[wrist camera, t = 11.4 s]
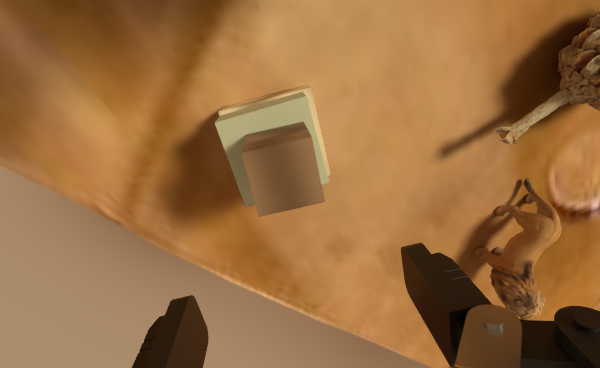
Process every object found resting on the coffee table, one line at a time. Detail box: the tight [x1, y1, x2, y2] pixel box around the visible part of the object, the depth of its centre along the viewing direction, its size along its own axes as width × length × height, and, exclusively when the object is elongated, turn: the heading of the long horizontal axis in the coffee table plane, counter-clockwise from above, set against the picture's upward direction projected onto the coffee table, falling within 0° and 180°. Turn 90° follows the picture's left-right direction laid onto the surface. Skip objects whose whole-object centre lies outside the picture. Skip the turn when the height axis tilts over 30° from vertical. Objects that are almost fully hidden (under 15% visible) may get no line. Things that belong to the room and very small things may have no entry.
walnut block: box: [241, 122, 325, 217], centre depth 27 cm, size 5×5×6 cm
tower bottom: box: [218, 85, 331, 176], centre depth 36 cm, size 9×9×4 cm
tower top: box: [215, 92, 329, 207], centre depth 32 cm, size 8×8×4 cm
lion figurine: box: [475, 178, 562, 320], centre depth 40 cm, size 15×5×9 cm, turn 171°
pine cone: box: [495, 14, 600, 144], centre depth 33 cm, size 22×10×10 cm, turn 131°
